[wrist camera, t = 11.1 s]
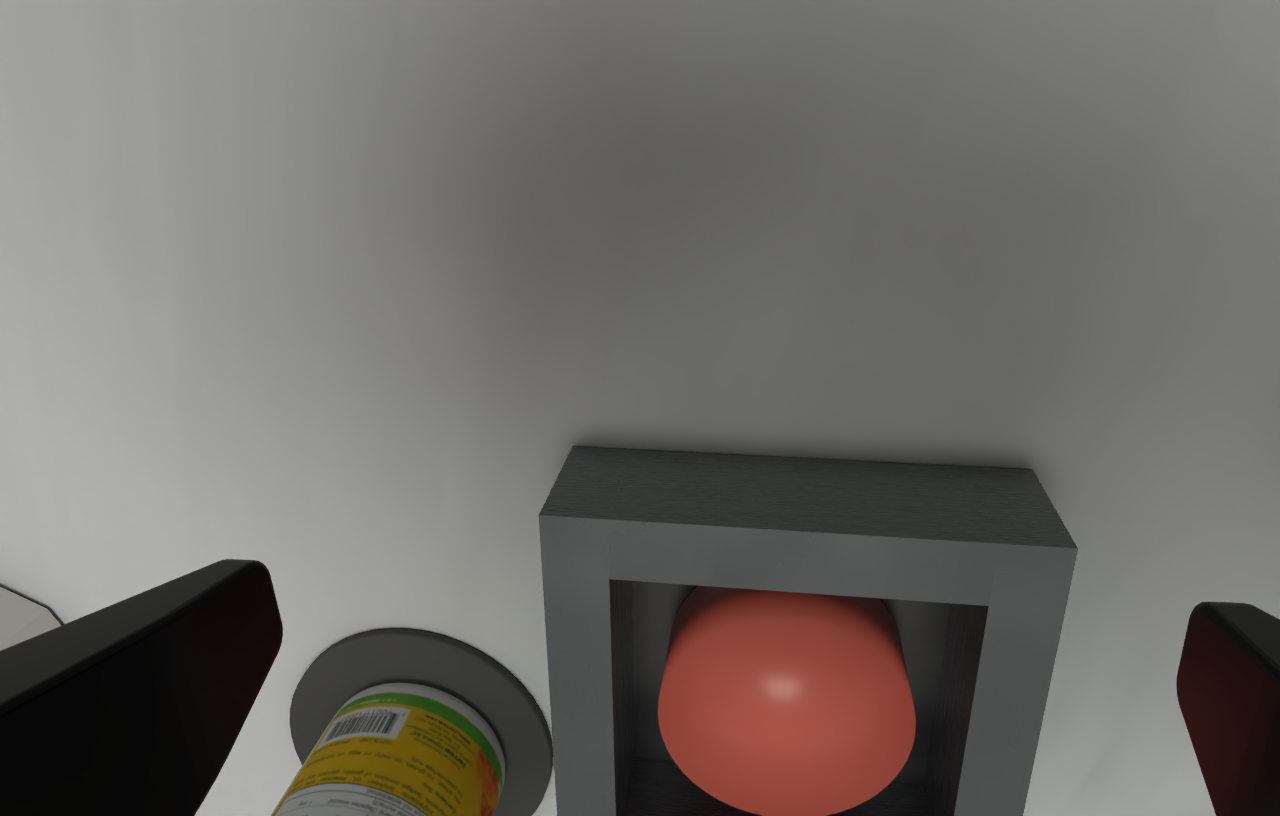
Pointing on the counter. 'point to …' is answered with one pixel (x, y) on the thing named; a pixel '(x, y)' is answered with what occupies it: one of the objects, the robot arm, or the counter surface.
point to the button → (786, 699)
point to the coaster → (440, 668)
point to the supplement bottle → (400, 759)
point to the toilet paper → (22, 619)
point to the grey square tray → (804, 563)
